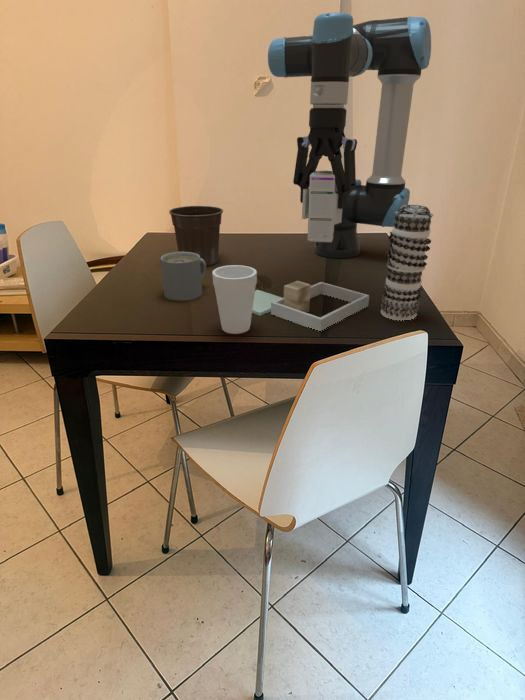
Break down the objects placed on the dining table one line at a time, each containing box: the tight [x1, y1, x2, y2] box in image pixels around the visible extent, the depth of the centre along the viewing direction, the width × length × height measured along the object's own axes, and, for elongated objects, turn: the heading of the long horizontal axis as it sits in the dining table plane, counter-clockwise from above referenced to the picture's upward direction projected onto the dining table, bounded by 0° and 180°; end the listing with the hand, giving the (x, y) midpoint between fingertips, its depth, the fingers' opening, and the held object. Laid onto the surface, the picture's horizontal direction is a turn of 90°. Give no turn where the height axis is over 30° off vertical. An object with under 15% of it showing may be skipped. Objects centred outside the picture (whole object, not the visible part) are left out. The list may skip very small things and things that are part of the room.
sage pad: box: [252, 289, 283, 317], centre depth 117 cm, size 11×11×1 cm
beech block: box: [283, 280, 312, 313], centre depth 110 cm, size 5×4×7 cm
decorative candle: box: [380, 204, 434, 322], centre depth 106 cm, size 9×9×25 cm
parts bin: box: [270, 281, 370, 332], centre depth 112 cm, size 20×15×3 cm
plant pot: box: [168, 205, 224, 267], centre depth 144 cm, size 16×16×16 cm
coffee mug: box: [160, 251, 207, 302], centre depth 121 cm, size 13×10×10 cm
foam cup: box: [212, 264, 258, 335], centre depth 101 cm, size 10×9×13 cm
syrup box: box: [307, 170, 337, 243], centre depth 104 cm, size 6×6×14 cm
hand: (321, 220), depth 105 cm, fingers closed on syrup box, 7 cm apart
